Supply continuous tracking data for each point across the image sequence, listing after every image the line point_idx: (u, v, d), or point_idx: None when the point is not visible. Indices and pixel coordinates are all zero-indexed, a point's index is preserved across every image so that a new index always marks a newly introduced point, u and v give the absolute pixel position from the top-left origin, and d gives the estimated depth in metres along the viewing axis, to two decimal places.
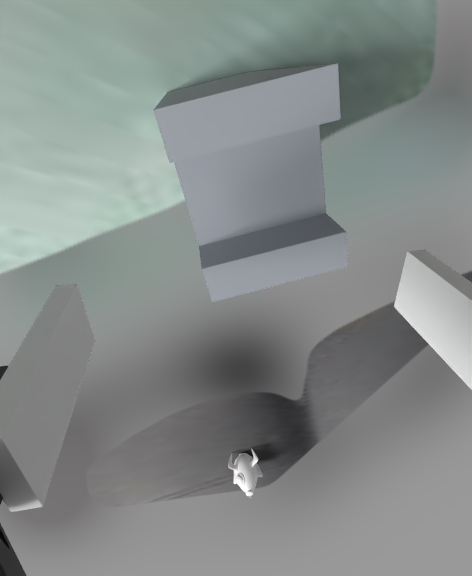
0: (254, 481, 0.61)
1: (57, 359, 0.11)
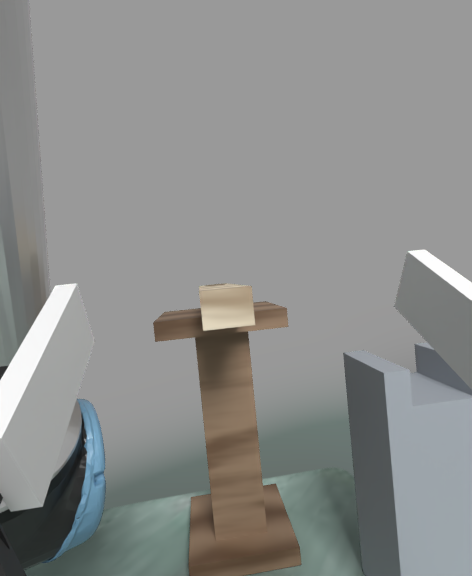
0: None
1: (57, 359, 0.11)
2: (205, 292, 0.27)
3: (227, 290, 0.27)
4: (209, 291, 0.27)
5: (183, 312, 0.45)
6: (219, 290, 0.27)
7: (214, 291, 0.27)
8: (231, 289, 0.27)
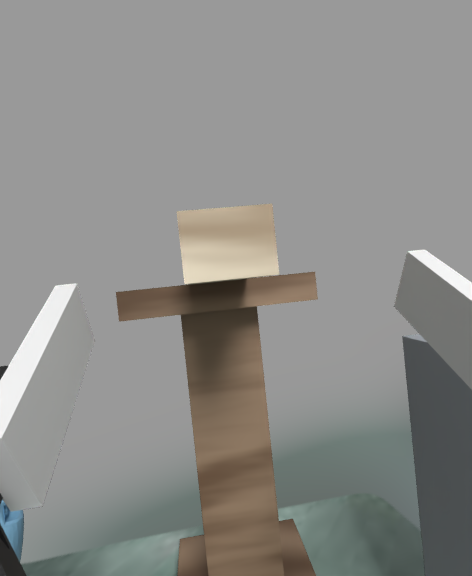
0: None
1: (57, 359, 0.11)
2: (188, 213, 0.15)
3: (228, 210, 0.15)
4: (195, 212, 0.15)
5: None
6: (214, 210, 0.15)
7: (204, 211, 0.15)
8: (236, 208, 0.15)
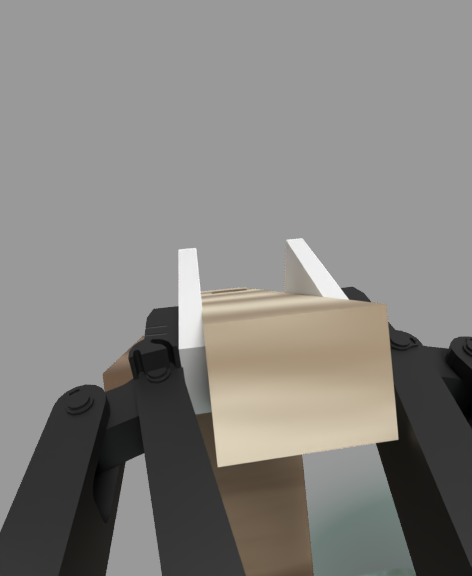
0: None
1: None
2: (225, 328, 0.07)
3: (304, 320, 0.07)
4: (240, 324, 0.07)
5: None
6: (275, 320, 0.07)
7: (258, 324, 0.07)
8: (318, 316, 0.08)
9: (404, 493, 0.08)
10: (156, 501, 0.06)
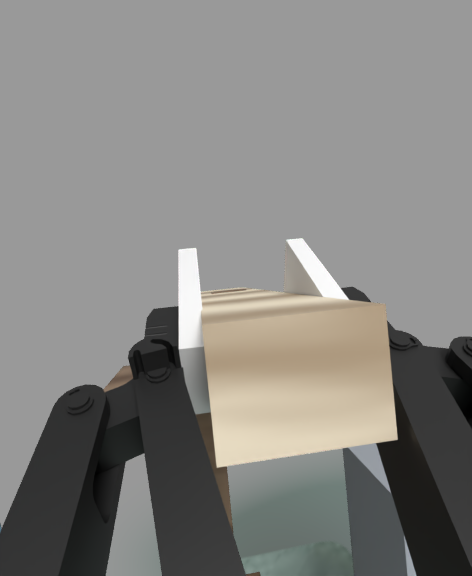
0: None
1: None
2: (224, 328, 0.07)
3: (303, 320, 0.07)
4: (239, 324, 0.07)
5: None
6: (274, 320, 0.07)
7: (257, 324, 0.07)
8: (317, 316, 0.08)
9: (404, 493, 0.08)
10: (156, 501, 0.06)
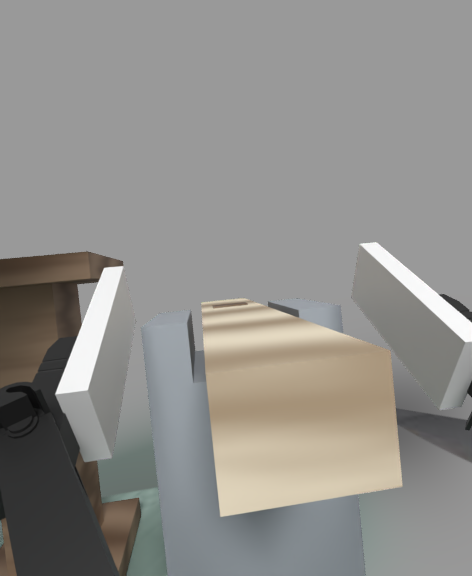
0: None
1: (115, 331, 0.12)
2: (228, 377, 0.07)
3: (307, 368, 0.07)
4: (243, 372, 0.07)
5: None
6: (278, 368, 0.07)
7: (261, 372, 0.07)
8: (321, 364, 0.07)
9: None
10: None
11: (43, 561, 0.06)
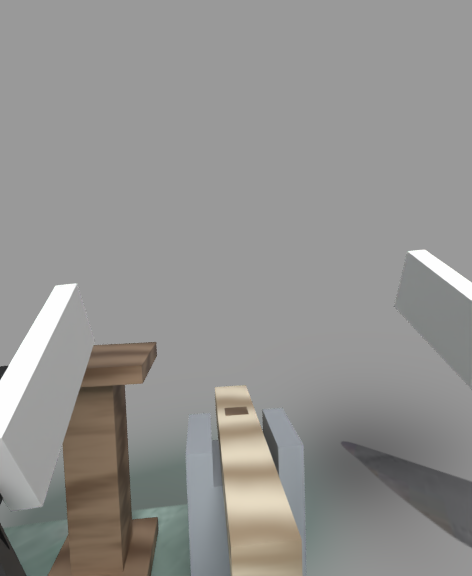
0: None
1: (57, 359, 0.11)
2: (239, 548, 0.20)
3: (269, 545, 0.20)
4: (244, 546, 0.20)
5: None
6: (258, 545, 0.20)
7: (251, 547, 0.20)
8: (274, 544, 0.20)
9: None
10: None
11: None
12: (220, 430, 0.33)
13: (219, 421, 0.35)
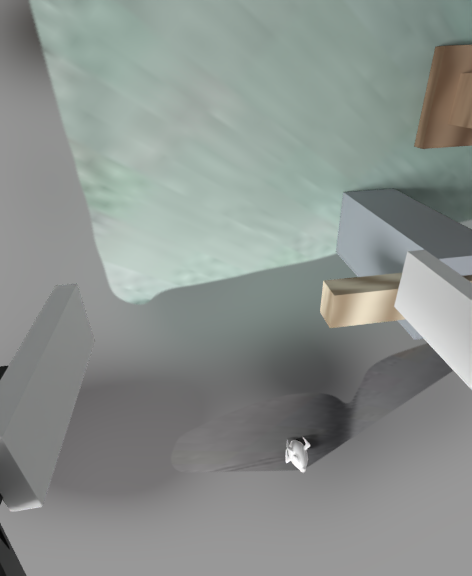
0: (306, 461, 0.79)
1: (57, 359, 0.11)
2: (333, 298, 0.35)
3: (331, 312, 0.36)
4: (333, 301, 0.35)
5: None
6: (332, 308, 0.35)
7: (332, 304, 0.35)
8: (331, 315, 0.36)
9: None
10: None
11: None
12: None
13: None
